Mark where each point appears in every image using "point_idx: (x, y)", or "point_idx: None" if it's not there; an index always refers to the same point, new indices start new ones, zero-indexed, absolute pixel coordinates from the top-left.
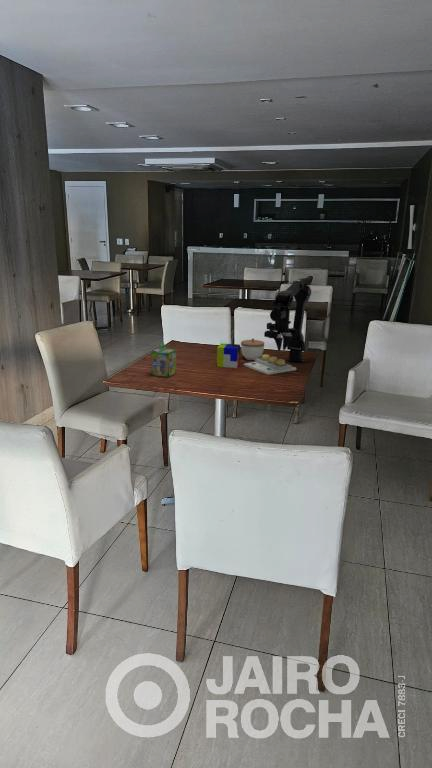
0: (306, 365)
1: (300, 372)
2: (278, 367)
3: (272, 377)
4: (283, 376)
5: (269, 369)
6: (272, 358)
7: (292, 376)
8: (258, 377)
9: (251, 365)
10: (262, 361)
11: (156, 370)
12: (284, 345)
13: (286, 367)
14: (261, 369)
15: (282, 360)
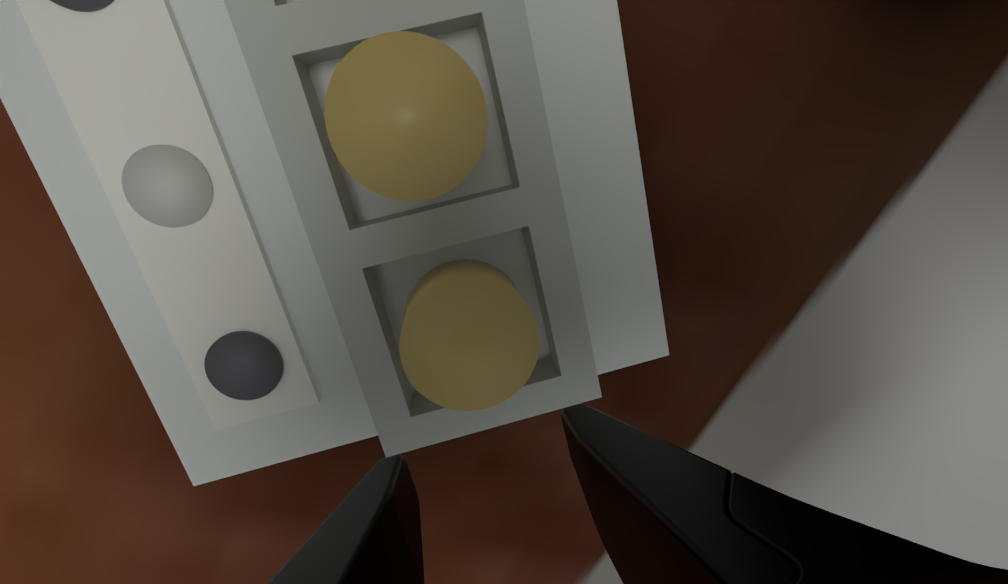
0: (911, 168)
1: None
2: (376, 424)
3: (222, 575)
4: None
5: (241, 401)
6: (363, 184)
7: (470, 570)
8: (35, 553)
9: (15, 24)
10: (230, 2)
11: None
12: (616, 541)
13: (503, 418)
14: (139, 320)
15: (485, 375)
